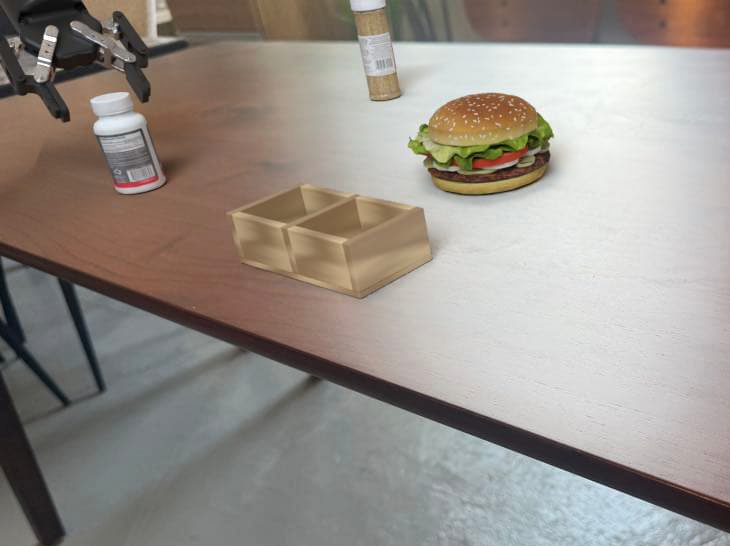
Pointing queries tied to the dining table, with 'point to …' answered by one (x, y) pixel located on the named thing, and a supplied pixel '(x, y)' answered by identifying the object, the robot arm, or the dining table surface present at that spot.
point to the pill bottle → (126, 144)
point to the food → (484, 144)
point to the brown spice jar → (376, 48)
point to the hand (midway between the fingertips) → (107, 107)
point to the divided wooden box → (331, 238)
